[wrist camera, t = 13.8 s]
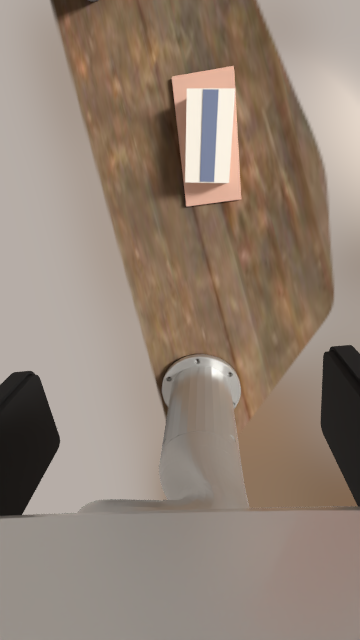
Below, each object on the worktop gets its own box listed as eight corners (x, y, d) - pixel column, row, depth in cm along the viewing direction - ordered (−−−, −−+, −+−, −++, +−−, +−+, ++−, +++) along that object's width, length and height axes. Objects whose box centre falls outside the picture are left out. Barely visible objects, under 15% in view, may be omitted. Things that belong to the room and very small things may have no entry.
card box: (232, 97, 37) (235, 88, 34) (226, 183, 41) (229, 182, 37) (188, 97, 38) (186, 88, 34) (186, 182, 41) (185, 182, 37)
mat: (240, 199, 42) (241, 199, 42) (186, 206, 43) (186, 206, 42) (233, 67, 37) (233, 65, 36) (172, 78, 38) (171, 76, 37)
